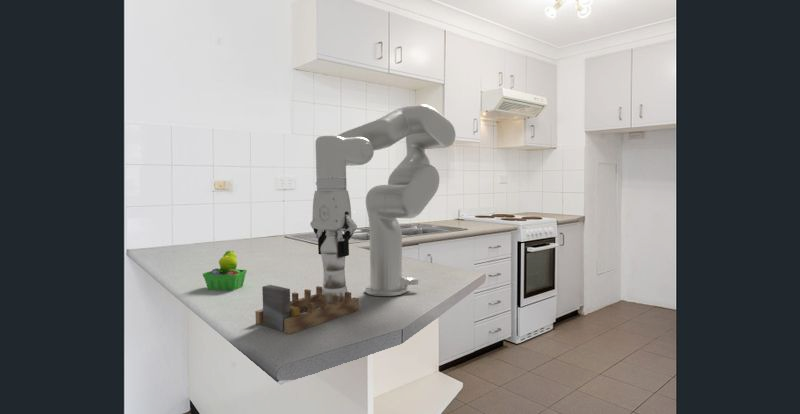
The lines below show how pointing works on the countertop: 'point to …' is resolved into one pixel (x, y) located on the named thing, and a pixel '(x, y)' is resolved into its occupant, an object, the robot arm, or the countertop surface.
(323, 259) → the grey bulging hollow cylinder
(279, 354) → the countertop surface
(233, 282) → the fruit basket
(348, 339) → the countertop surface
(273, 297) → the wooden peg rack
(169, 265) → the countertop surface
